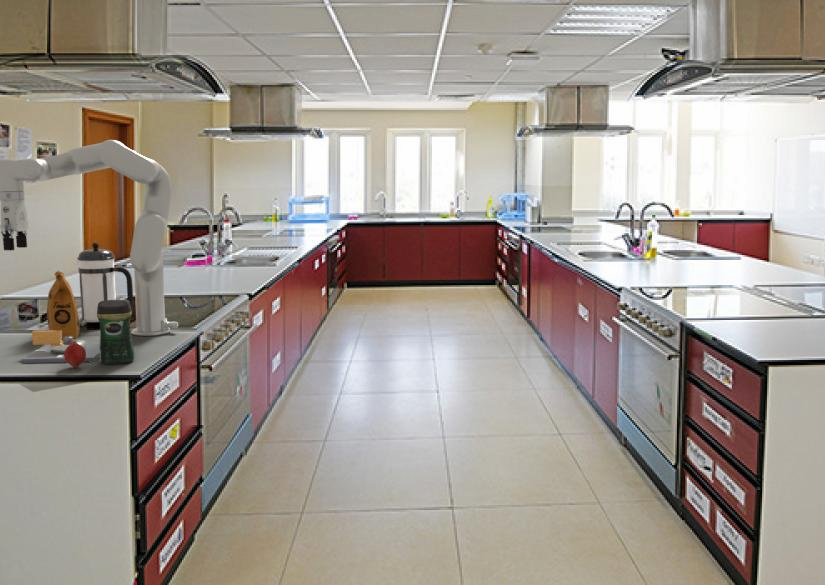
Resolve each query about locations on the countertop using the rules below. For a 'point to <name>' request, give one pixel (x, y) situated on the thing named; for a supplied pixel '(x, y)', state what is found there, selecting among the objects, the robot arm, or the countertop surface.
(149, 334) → the robot arm
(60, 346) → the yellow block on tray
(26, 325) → the countertop surface
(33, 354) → the board
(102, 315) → the coffee jar
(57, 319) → the coffee package
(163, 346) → the countertop surface
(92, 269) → the coffee press
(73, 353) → the pomegranate
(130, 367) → the countertop surface
